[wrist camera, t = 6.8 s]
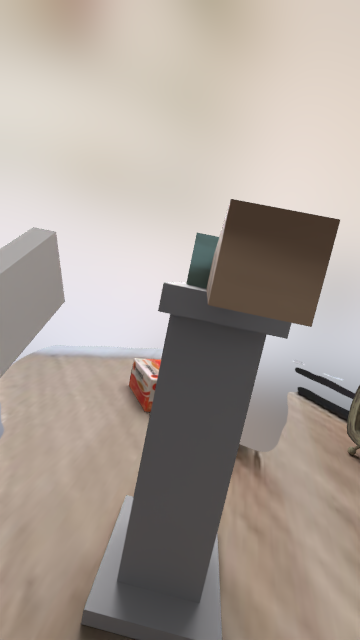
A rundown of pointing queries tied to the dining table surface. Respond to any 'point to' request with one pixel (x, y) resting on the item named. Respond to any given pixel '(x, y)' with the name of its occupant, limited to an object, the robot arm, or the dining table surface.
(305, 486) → the dining table surface
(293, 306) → the mallet
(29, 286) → the robot arm
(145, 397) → the medicine box
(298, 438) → the dining table surface
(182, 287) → the stand
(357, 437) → the tabletop clock
